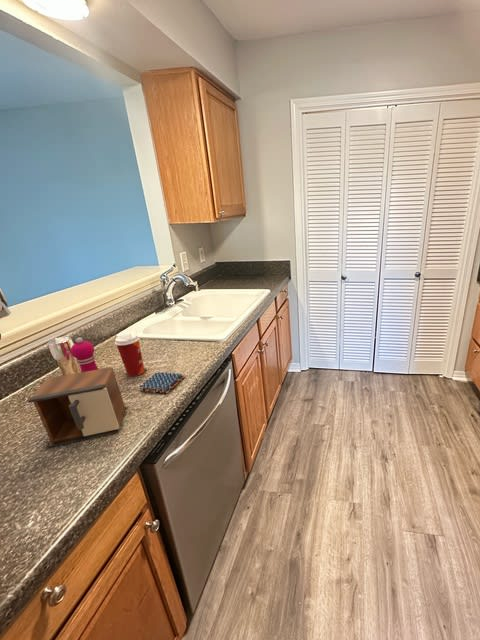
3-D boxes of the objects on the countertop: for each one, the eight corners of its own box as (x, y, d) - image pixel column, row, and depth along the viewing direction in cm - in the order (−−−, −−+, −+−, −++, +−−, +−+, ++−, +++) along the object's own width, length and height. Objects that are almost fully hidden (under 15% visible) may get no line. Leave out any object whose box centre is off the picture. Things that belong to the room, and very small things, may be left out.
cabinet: (48, 447, 82) (27, 400, 77) (64, 420, 93) (46, 377, 87) (117, 432, 86) (102, 387, 81) (125, 408, 97) (112, 366, 91)
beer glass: (83, 371, 120) (70, 334, 114) (86, 378, 115) (73, 340, 109) (61, 378, 115) (46, 340, 110) (63, 385, 111) (48, 346, 105)
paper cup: (151, 371, 117) (142, 336, 112) (129, 380, 112) (119, 343, 106) (142, 365, 122) (132, 331, 117) (120, 373, 117) (110, 338, 111)
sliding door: (79, 446, 81) (62, 404, 76) (84, 434, 85) (68, 394, 80) (116, 438, 83) (102, 397, 78) (119, 427, 87) (106, 387, 82)
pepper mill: (99, 401, 101) (79, 343, 93) (79, 399, 102) (57, 342, 94) (115, 388, 107) (97, 333, 99) (96, 387, 109) (77, 332, 101)
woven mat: (168, 394, 102) (167, 389, 102) (139, 392, 105) (137, 386, 104) (185, 377, 112) (184, 372, 111) (158, 375, 114) (156, 370, 113)
